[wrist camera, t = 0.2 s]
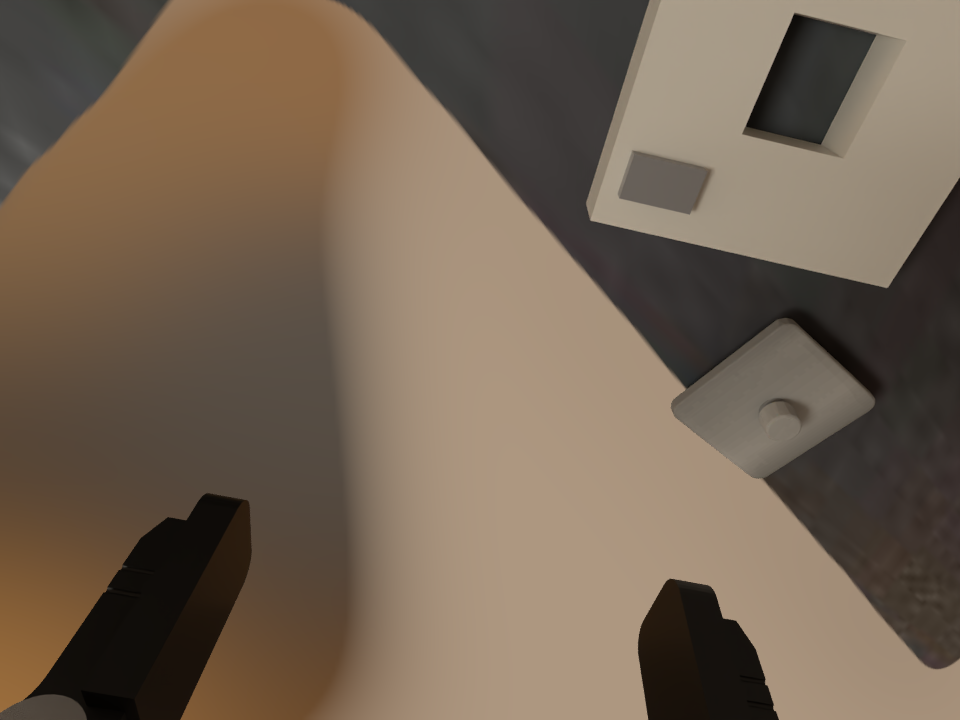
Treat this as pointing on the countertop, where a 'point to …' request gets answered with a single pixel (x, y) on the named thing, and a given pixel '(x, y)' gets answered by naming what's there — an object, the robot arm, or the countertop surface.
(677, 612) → the robot arm
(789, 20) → the socket
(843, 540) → the countertop surface
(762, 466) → the light switch
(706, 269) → the countertop surface
